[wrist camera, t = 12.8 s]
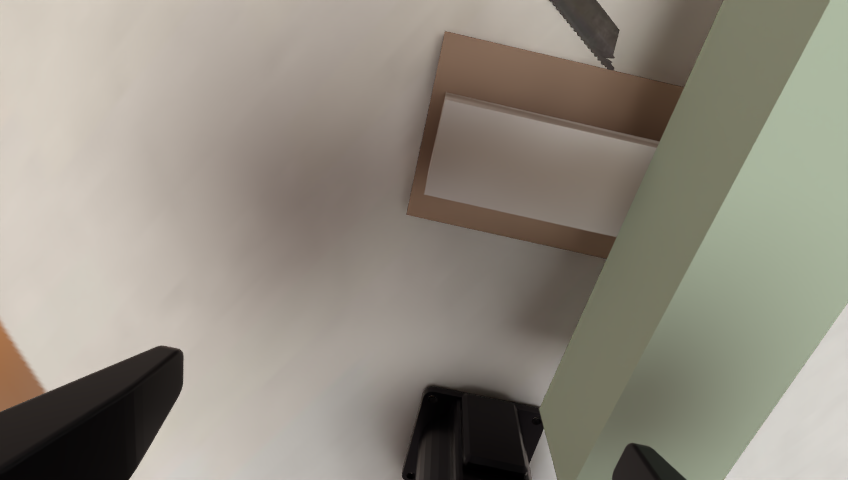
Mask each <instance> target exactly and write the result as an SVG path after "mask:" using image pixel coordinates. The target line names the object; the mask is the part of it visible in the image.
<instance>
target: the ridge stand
mask: <svg viewBox="0 0 848 480" xmlns="http://www.w3.org/2000/svg"><path fill="white" fill-rule="evenodd" d="M683 89H684V87H681V86H677V85H672V84H668V83H664V82H660V81H655V80H651V79H647V78H643V77H638V76H634V75H630V74H625V73H621V72H617V71H613V70H608V69H604V68H600V67H596V66H591V65H587V64H583V63H579V62H574V61H570V60H566V59H562V58H557V57H553V56H549V55H545V54H540V53H536V52H532V51H527V50H523V49H519V48H515V47H510V46H506V45H502V44H498V43H493V42H489V41H485V40H481V39H476V38H472V37H468V36H464V35H459V34H455V33H451V32H446V31H445V34H444V38H443V43H442V48H441V53H440V57H439V62H438V67H437V72H436V76H435V81H434V86H433V90H432V95H431V100H430V105H429V109H428V114H427V119H426V124H425V128H424V133H423V138H422V142H421V147H420V152H419V157H418V161H417V166H416V171H415V176H414V180H413V185H412V190H411V194H410V199H409V204H408V209H407V213H406V215H411V216H415V217H420V218H424V219H429V220H433V221H438V222H442V223H447V224H451V225H456V226H460V227H465V228H469V229H474V230H478V231H483V232H488V233H492V234H497V235H501V236H506V237H510V238H515V239H519V240H524V241H528V242H533V243H537V244H542V245H546V246H551V247H555V248H560V249H565V250H569V251H574V252H578V253H583V254H587V255H592V256H596V257H601V258H605V259H607V257H608V255H609V253H610V251H611V249H612V246H613V244H614V242H615V240H616V237H617V235H618V233H619V231H620V229H621V226H622V224H623V222H624V220H625V218H626V215H627V213H628V211H629V209H630V206H631V204H632V202H633V200H634V198H635V195H636V193H637V191H638V189H639V186H640V184H641V182H642V180H643V178H644V175H645V173H646V171H647V169H648V166H649V164H650V162H651V160H652V158H653V155H654V153H655V151H656V149H657V147H658V144H659V142H660V140H661V138H662V135H663V133H664V131H665V129H666V127H667V124H668V122H669V120H670V118H671V115H672V113H673V111H674V109H675V107H676V104H677V102H678V100H679V98H680V95H681V93H682V91H683Z"/></svg>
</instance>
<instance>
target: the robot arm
mask: <svg viewBox="0 0 848 480" xmlns="http://www.w3.org/2000/svg"><path fill="white" fill-rule="evenodd" d="M183 358H184V357H183V352H182V351H181V350H180V349H177V348H173V347H168V346H157V347H155V348H152V349H150V350H148V351H145V352H143V353H140V354H138V355H136V356H133V357H131V358H128V359H126V360H124V361H121V362H119V363H116V364H114V365H112V366H109V367H107V368H104V369H102V370H100V371H97V372H95V373H92V374H90V375H88V376H85V377H83V378H80V379H78V380H76V381H73V382H71V383H68V384H66V385H64V386H61V387H59V388H56V389H54V390H52V391H49V392H47V393H44V394H42V395H40V396H37V397H35V398H32V399H30V400H28V401H25V402H23V403H20V404H18V405H16V406H13V407H11V408H8V409H6V410H4V411H1V412H0V480H129V479H130V477H131V476H132V474H133V473H134V471H135V470H136V469H137V467H138V465H139V464H140V462H141V460H142V459H143V457H144V455H145V454H146V452H147V450H148V448H149V447H150V445H151V443H152V442H153V440H154V438H155V436H156V435H157V433H158V431H159V429H160V428H161V426H162V424H163V422H164V421H165V419H166V417H167V416H168V414H169V412H170V410H171V409H172V407H173V405H174V403H175V402H176V400H177V398H178V396H179V394H180V392H181V390H182V386H183ZM431 395H434V396H436V397H435V398H431V397H429V396H431ZM535 417H539V418H538V419H533V418H535ZM543 429H544V426H543V422H542V419H541V415H540V411H539V408H536V407H531V406H526V405H521V404H516V403H512V402H507V401H502V400H497V399H492V398H488V397H483V396H478V395H473V394H468V393H464V392H459V391H454V390H449V389H445V388H440V387H435V386H430V387H427V388H426V389H425V390H424V392H423V395H422V399H421V403H420V407H419V410H418V414H417V418H416V421H415V425H414V429H413V433H412V436H411V440H410V444H409V447H408V451H407V455H406V459H405V462H404V466H403V472H402V477H403V479H404V480H532V477H531V472H530V467H529V463H530V461H531V458H532V456H533V454H534V451H535V449H536V446H537V444H538V441H539V439H540V437H541V434H542V432H543ZM612 480H687V479H685V478H684V477H683V476H682V475H681V474H680V473H679V472H678V471H677V470H676V469H675V468H673V467H672V466H671V465H670V464H669V463H668V462H667V461H666V460H665V459H664V458H663V457H662V456H660V455H659V454H658V453H657V452H656V451H655V450H654V449H653V448H651V447H649V446H647V445H642V444H637V443H629V444H628V445H626V447H625V449H624V451H623V453H622V455H621V457H620V459H619V461H618V463H617V464H616V466H615V468H614V471H613V474H612Z"/></svg>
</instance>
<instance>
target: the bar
mask: <svg viewBox="0 0 848 480" xmlns="http://www.w3.org/2000/svg"><path fill="white" fill-rule="evenodd" d="M847 303H848V0H723V2H722V5H721V7H720V9H719V11H718V13H717V16H716V18H715V20H714V22H713V25H712V27H711V29H710V31H709V33H708V36H707V38H706V40H705V42H704V44H703V47H702V49H701V51H700V53H699V56H698V58H697V60H696V62H695V64H694V67H693V69H692V71H691V73H690V76H689V78H688V80H687V82H686V84H685V87H684V89H683V91H682V93H681V95H680V98H679V100H678V102H677V104H676V107H675V109H674V111H673V113H672V115H671V118H670V120H669V122H668V124H667V127H666V129H665V131H664V133H663V135H662V138H661V140H660V142H659V144H658V147H657V149H656V151H655V153H654V155H653V158H652V160H651V162H650V164H649V166H648V169H647V171H646V173H645V175H644V178H643V180H642V182H641V184H640V186H639V189H638V191H637V193H636V195H635V198H634V200H633V202H632V204H631V206H630V209H629V211H628V213H627V215H626V218H625V220H624V222H623V224H622V226H621V229H620V231H619V233H618V235H617V237H616V240H615V242H614V244H613V246H612V249H611V251H610V253H609V255H608V257H607V260H606V262H605V264H604V266H603V269H602V271H601V273H600V275H599V277H598V280H597V282H596V284H595V286H594V288H593V291H592V293H591V295H590V297H589V300H588V302H587V304H586V306H585V308H584V311H583V313H582V315H581V317H580V320H579V322H578V324H577V326H576V328H575V331H574V333H573V335H572V337H571V339H570V342H569V344H568V346H567V348H566V351H565V353H564V355H563V357H562V359H561V362H560V364H559V366H558V368H557V371H556V373H555V375H554V377H553V379H552V382H551V384H550V386H549V388H548V391H547V393H546V395H545V397H544V399H543V402H542V404H541V406H540V408H539V411H540V415H541V419H542V422H543V426H544V430H545V434H546V438H547V441H548V445H549V449H550V453H551V457H552V461H553V464H554V468H555V472H556V476H557V480H612V474H613V471H614V468H615V466H616V464H617V463H618V461H619V459H620V457H621V455H622V453H623V451H624V449H625V447H626V445H628V444H629V443H637V444H642V445H647V446H649V447H651V448H653V449H654V450H655V451H656V452H657V453H658V454H659V455H660V456H662V457H663V458H664V459H665V460H666V461H667V462H668V463H669V464H670V465H671V466H672V467H673V468H675V469H676V470H677V471H678V472H679V473H680V474H681V475H682V476H683V477H684V478H685V479H687V480H724V479H725V477H726V476H727V474H728V473H729V471H730V470H731V469H732V467H733V466H734V464H735V463H736V461H737V460H738V459H739V457H740V456H741V454H742V453H743V451H744V450H745V449H746V447H747V446H748V444H749V443H750V441H751V440H752V439H753V437H754V436H755V434H756V433H757V431H758V430H759V429H760V427H761V426H762V424H763V423H764V422H765V420H766V419H767V417H768V416H769V414H770V413H771V412H772V410H773V409H774V407H775V406H776V404H777V403H778V402H779V400H780V399H781V397H782V396H783V394H784V393H785V392H786V390H787V389H788V387H789V386H790V384H791V383H792V382H793V380H794V379H795V377H796V376H797V374H798V373H799V372H800V370H801V369H802V367H803V366H804V365H805V363H806V362H807V360H808V359H809V357H810V356H811V355H812V353H813V352H814V350H815V349H816V347H817V346H818V345H819V343H820V342H821V340H822V339H823V337H824V336H825V335H826V333H827V332H828V330H829V329H830V327H831V326H832V325H833V323H834V322H835V320H836V319H837V317H838V316H839V315H840V313H841V312H842V310H843V309H844V308H845V306H846V305H847Z"/></svg>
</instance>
